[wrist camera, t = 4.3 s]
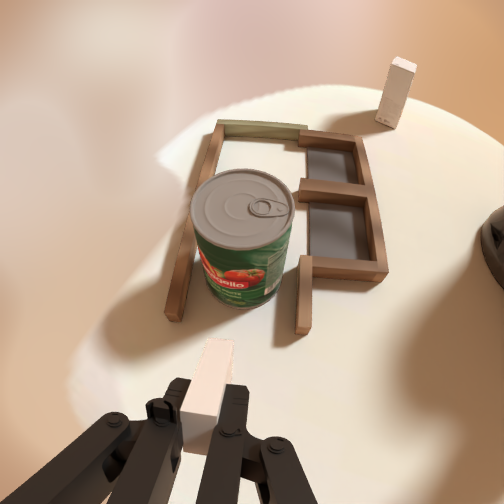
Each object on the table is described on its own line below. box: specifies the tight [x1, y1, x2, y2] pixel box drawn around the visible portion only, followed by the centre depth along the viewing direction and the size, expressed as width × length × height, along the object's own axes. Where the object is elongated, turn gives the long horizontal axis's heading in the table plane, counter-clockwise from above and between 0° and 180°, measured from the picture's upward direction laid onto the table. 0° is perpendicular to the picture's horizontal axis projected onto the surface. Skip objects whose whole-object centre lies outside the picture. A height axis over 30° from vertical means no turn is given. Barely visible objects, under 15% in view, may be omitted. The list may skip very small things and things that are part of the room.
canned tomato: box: [190, 169, 295, 309], centre depth 28 cm, size 8×8×11 cm
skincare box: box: [375, 56, 417, 129], centre depth 44 cm, size 6×4×12 cm
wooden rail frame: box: [164, 119, 389, 335], centre depth 36 cm, size 30×22×2 cm
